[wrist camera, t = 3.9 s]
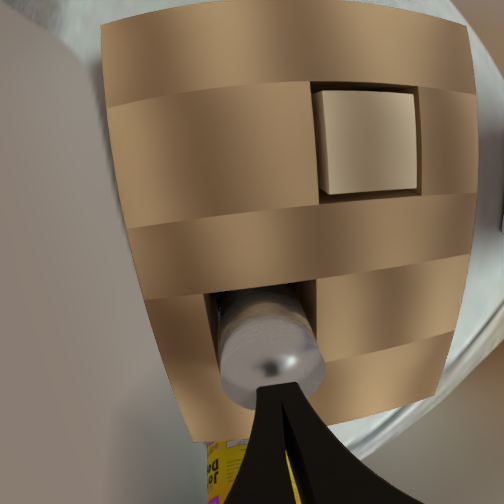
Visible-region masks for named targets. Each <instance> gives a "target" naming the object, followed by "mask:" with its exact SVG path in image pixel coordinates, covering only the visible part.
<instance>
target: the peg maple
mask: <svg viewBox="0 0 504 504" xmlns="http://www.w3.org/2000/svg"><path fill="white" fill-rule="evenodd" d="M311 101H312V111H313V122H314V134H315V147H316V161H317V177H318V187H319V188H320V189H322V190H323V191H325V192H327V193H328V194H342V193H354V192H367V191H380V190H395V189H412V188H417V152H416V125H415V109H414V96H413V94H404V93H391V92H373V91H320V92H317V93H314V94H312V95H311Z"/></svg>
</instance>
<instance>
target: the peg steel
mask: <svg viewBox="0 0 504 504" xmlns="http://www.w3.org/2000/svg"><path fill="white" fill-rule="evenodd" d="M324 375H325V362H324V359H323V356H322V354H321V351H320V349H319V346H318V344H317V342H316V339H315V337H314V334H313V332H312V329H311V327H310V324H309V322H308V320H307V317H306V315H305V312H304V310H303V308H302V305H301V303H300V300H299V298H298V296H297V294H296V292H295V291H294V289H293V288H292V287H291V286H290V285H288V284H287V283H285V284H277V285H270V286H262V287H254V288H246V289H238V290H230V291H228V293H227V294H226V296H225V297H224V299H223V302H222V304H221V311H220V380H221V386H222V389H223V391H224V393H225V394H226V395H227V397H228V398H229V399H230V400H231V401H233V402H234V403H236V404H237V405H239V406H241V407H243V408H246V409H250V410H254V411H255V409H256V389H257V388H258V387H260V386H268V385H275V384H281V383H288V382H294V381H295V382H297V383H298V384H299V386H300V388H301V390H302V392H303V393H304V395H305V397H306V398H309V397H310V396H311V395H312V394H313V393H314V392H315V391H316V390H317V389H318V388H319V386H320V385H321V383H322V381H323V378H324Z"/></svg>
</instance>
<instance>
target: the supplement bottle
mask: <svg viewBox="0 0 504 504" xmlns="http://www.w3.org/2000/svg"><path fill="white" fill-rule="evenodd" d="M248 442H249V438H248V439H238V440H227V441H213V442H207V504H223V503H224V501H225V499H226V497H227V495H228V493H229V491H230V489H231V487H232V485H233V483H234V481H235V478H236V476H237V474H238V471H239V469H240V466H241V463H242V461H243V458H244V454H245V451H246V448H247V445H248ZM285 451H286V450H285ZM286 458H287V464H288V468H289V473H290V478H291V482H292V487H293V491H294V496H295V500H296V504H301V501H300V497H299V493H298V490H297V487H296V483H295V480H294V477H293V473H292V470H291V467H290V463H289V460H288V457H287V453H286Z"/></svg>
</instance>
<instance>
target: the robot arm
mask: <svg viewBox="0 0 504 504" xmlns="http://www.w3.org/2000/svg"><path fill="white" fill-rule="evenodd" d="M502 232H503V234H504V216H503V224H502ZM285 450H286V451H285ZM286 453H287V457H288V460H289V463H290V467H291V470H292V473H293V477H294V480H295V483H296V487H297V490H298V493H299V497H300V501H301V504H424V503H422V502H420V501H418V500H416V499H414V498H412V497H411V496H409V495H407V494H405V493H404V492H402V491H400V490H398V489H397V488H395V487H394V486H393V485H391V484H390V483H388V482H387V481H385V480H384V479H382V478H381V477H379V476H378V475H377V474H375V473H374V472H373V471H372V470H370V469H369V468H368V467H367V466H365V465H364V464H363V463H362V462H361V461H360V460H359V459H357V458H356V457H355V456H354V455H353V454H352V453H351V452H350V451H349V450H348V449H347V448H346V447H345V446H344V445H343V444H342V443H341V442H340V441H339V440H338V439H337V438H336V436H335V435H334V434H333V433H332V432H331V431H330V430H329V428H328V427H327V426H326V425H325V423H324V422H323V421H322V420H321V418H320V417H319V416H318V414H317V413H316V412H315V410H314V409H313V407H312V406H311V404H310V403H309V401H308V400H307V398H306V397H305V395H304V393H303V392H302V390H301V388H300V386H299V384H298V383H297V382H295V381H294V382H288V383H281V384H275V385H268V386H260V387H258V388H257V389H256V409H255V415H254V421H253V425H252V430H251V434H250V438H249V442H248V445H247V448H246V451H245V454H244V458H243V461H242V463H241V466H240V469H239V471H238V474H237V476H236V478H235V481H234V483H233V485H232V487H231V489H230V491H229V493H228V495H227V497H226V499H225V501H224V503H223V504H296V500H295V496H294V491H293V487H292V482H291V478H290V473H289V468H288V464H287V458H286Z"/></svg>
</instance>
